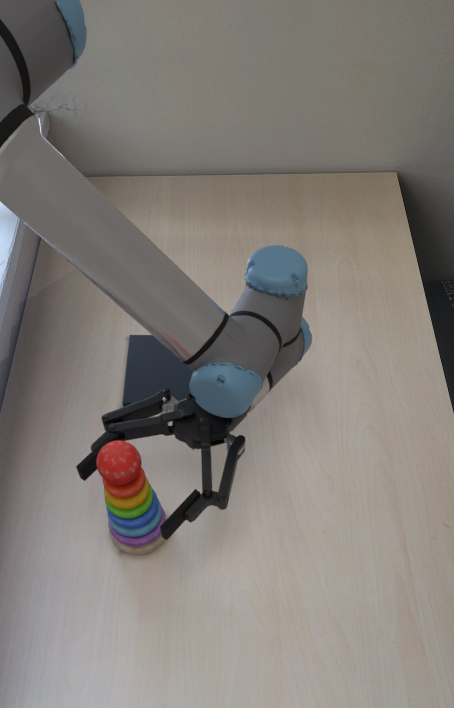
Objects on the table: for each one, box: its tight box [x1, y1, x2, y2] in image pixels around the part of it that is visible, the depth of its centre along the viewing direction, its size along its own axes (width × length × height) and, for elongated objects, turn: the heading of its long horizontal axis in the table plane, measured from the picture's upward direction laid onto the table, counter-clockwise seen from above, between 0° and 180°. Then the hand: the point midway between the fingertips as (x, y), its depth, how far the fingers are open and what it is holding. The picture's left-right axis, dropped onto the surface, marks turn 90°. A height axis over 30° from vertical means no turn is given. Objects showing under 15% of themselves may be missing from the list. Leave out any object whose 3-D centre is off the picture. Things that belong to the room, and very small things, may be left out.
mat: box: [122, 334, 193, 407], centre depth 100 cm, size 12×14×1 cm
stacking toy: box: [96, 440, 168, 555], centre depth 79 cm, size 8×8×19 cm
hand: (120, 503), depth 77 cm, fingers open, 13 cm apart
